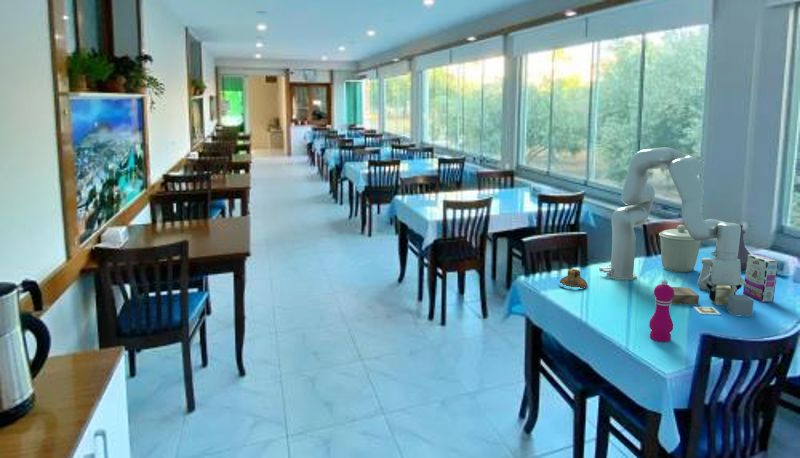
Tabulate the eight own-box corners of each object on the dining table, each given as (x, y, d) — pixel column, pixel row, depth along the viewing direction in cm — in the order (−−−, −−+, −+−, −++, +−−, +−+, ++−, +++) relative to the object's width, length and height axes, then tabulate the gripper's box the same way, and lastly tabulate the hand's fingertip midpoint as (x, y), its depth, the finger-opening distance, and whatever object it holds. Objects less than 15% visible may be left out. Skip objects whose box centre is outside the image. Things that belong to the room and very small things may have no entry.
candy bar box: (774, 302, 216) (779, 261, 212) (762, 302, 215) (767, 261, 212) (754, 292, 227) (758, 253, 223) (742, 293, 226) (746, 254, 223)
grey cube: (733, 315, 203) (735, 299, 202) (727, 309, 209) (728, 294, 208) (751, 316, 202) (753, 300, 201) (744, 310, 208) (746, 295, 207)
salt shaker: (714, 291, 230) (717, 260, 227) (699, 290, 231) (702, 260, 228) (710, 286, 235) (713, 256, 232) (695, 286, 236) (698, 256, 234)
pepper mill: (650, 332, 190) (655, 275, 186) (674, 336, 186) (679, 279, 182) (646, 339, 184) (650, 281, 180) (670, 344, 180) (675, 284, 176)
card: (700, 314, 205) (700, 312, 205) (693, 307, 212) (693, 306, 212) (720, 314, 204) (720, 313, 204) (713, 308, 211) (713, 306, 210)
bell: (573, 280, 248) (574, 264, 246) (593, 288, 237) (594, 271, 236) (552, 284, 243) (553, 268, 241) (572, 292, 232) (572, 275, 231)
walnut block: (670, 304, 216) (671, 295, 215) (662, 296, 226) (662, 286, 225) (698, 305, 215) (699, 295, 214) (688, 296, 225) (689, 287, 224)
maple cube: (716, 304, 214) (717, 289, 213) (710, 299, 220) (711, 285, 219) (733, 305, 213) (734, 290, 212) (726, 300, 219) (728, 285, 218)
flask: (707, 263, 269) (711, 222, 265) (739, 261, 271) (743, 221, 267) (730, 273, 253) (735, 229, 249) (764, 271, 255) (769, 228, 251)
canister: (707, 274, 251) (712, 228, 247) (666, 275, 252) (670, 229, 247) (687, 263, 269) (691, 220, 264) (649, 264, 269) (653, 221, 265)
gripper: (705, 257, 210) (701, 303, 214) (755, 258, 208) (750, 304, 211) (698, 252, 217) (694, 296, 221) (746, 253, 215) (741, 297, 219)
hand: (721, 300), depth 216 cm, fingers closed on maple cube, 6 cm apart
